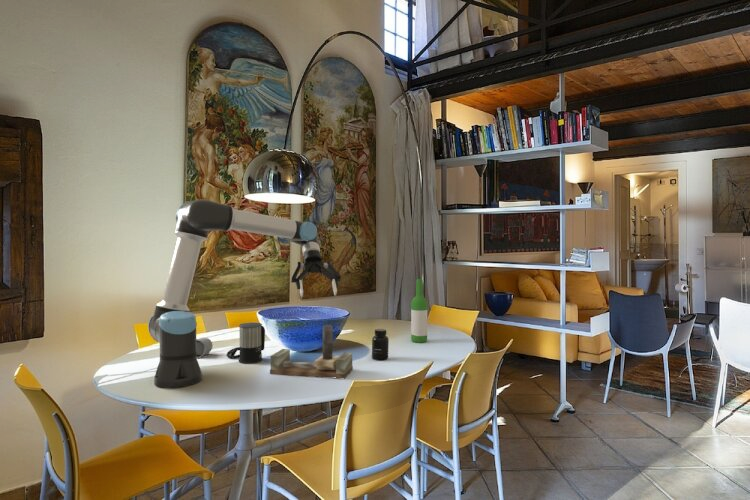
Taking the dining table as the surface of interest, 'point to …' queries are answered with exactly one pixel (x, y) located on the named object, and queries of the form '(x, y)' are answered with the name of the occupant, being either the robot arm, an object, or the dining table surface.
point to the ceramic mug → (203, 347)
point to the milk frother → (250, 343)
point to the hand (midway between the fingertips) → (319, 294)
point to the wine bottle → (419, 315)
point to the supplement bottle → (380, 345)
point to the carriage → (327, 351)
